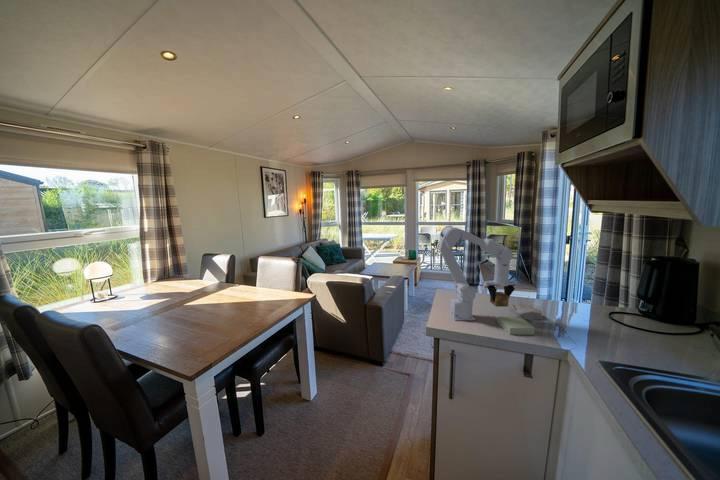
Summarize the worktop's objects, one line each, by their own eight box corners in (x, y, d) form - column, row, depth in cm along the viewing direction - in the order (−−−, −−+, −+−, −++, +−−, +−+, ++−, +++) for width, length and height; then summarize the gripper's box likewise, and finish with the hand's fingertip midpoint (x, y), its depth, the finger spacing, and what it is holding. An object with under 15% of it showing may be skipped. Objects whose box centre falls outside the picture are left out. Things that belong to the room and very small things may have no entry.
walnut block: (495, 306, 119) (496, 296, 118) (490, 301, 124) (490, 291, 123) (507, 306, 119) (508, 296, 118) (501, 301, 124) (502, 291, 123)
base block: (509, 334, 108) (510, 327, 107) (497, 322, 118) (497, 316, 117) (534, 334, 108) (534, 327, 107) (519, 322, 117) (520, 316, 117)
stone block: (522, 323, 121) (544, 319, 120) (521, 314, 120) (543, 310, 119) (508, 313, 132) (528, 309, 132) (507, 304, 132) (527, 300, 131)
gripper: (490, 275, 115) (487, 304, 117) (522, 275, 115) (519, 304, 117) (482, 270, 122) (480, 298, 124) (513, 270, 122) (511, 298, 124)
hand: (499, 300), depth 121 cm, fingers closed on walnut block, 5 cm apart
